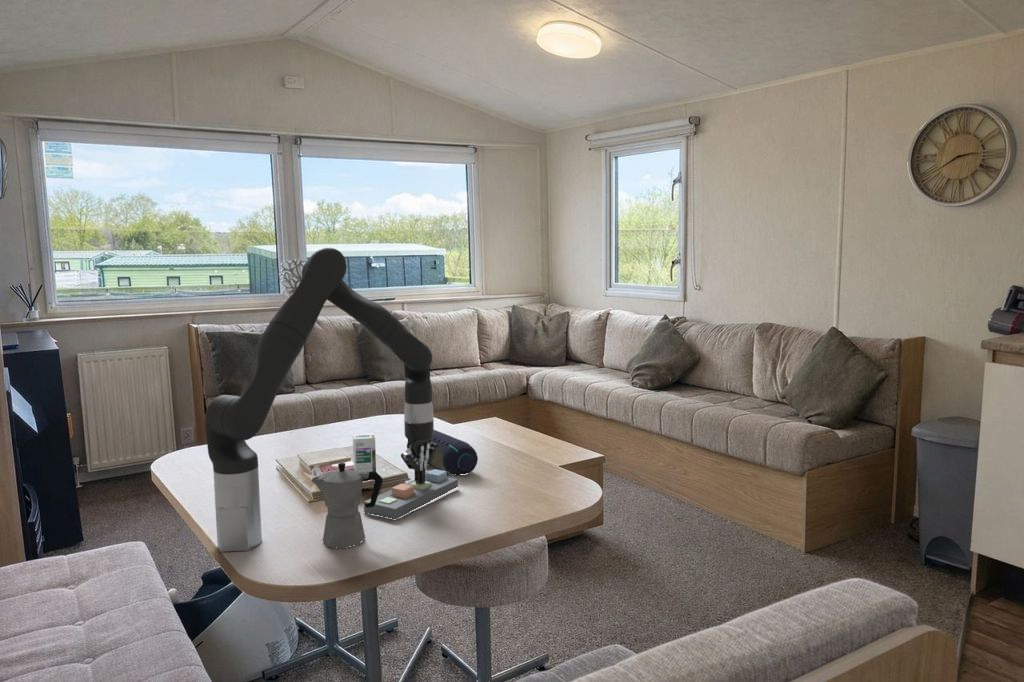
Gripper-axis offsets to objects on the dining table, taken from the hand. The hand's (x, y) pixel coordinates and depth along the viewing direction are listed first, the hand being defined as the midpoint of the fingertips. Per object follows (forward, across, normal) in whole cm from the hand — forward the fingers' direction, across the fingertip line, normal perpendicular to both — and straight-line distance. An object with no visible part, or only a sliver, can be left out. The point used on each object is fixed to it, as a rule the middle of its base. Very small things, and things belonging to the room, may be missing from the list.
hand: (420, 483), depth 188 cm
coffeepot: (+4, +30, +4) cm, 31 cm away
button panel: (+4, +3, 0) cm, 5 cm away
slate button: (+2, -7, 0) cm, 7 cm away
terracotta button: (+2, +7, 0) cm, 7 cm away
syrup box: (+4, +1, -18) cm, 19 cm away
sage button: (+3, 0, 0) cm, 4 cm away
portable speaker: (+4, -24, -10) cm, 27 cm away
